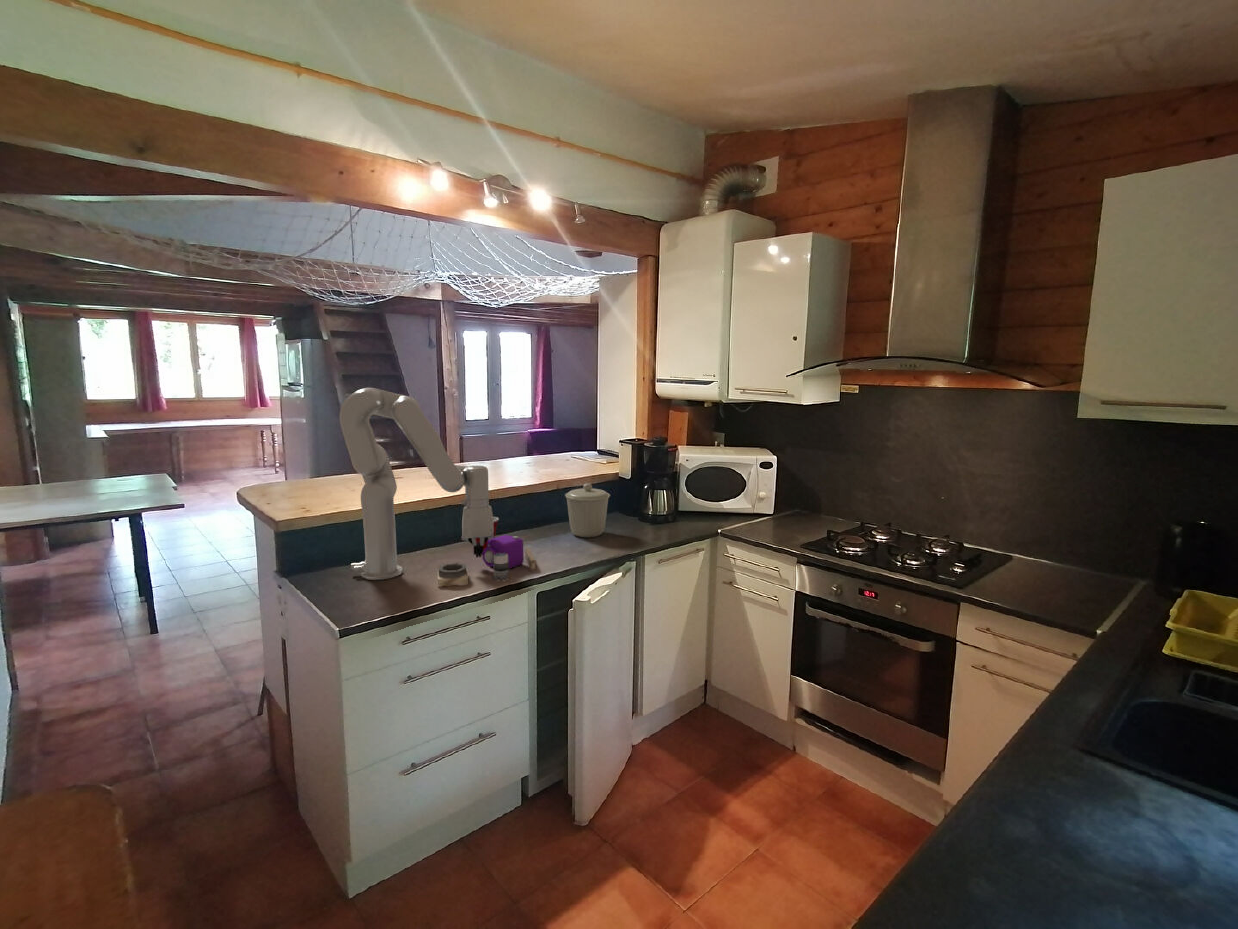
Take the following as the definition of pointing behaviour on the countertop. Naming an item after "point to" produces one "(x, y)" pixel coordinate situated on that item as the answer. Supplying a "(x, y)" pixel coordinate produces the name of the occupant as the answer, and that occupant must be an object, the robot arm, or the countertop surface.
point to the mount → (452, 574)
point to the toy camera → (504, 550)
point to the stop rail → (530, 559)
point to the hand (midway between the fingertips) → (478, 556)
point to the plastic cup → (495, 520)
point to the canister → (587, 511)
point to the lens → (501, 566)
